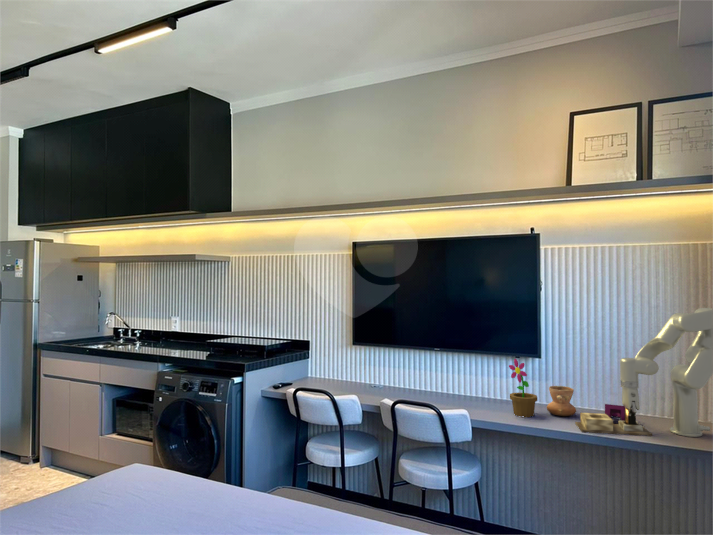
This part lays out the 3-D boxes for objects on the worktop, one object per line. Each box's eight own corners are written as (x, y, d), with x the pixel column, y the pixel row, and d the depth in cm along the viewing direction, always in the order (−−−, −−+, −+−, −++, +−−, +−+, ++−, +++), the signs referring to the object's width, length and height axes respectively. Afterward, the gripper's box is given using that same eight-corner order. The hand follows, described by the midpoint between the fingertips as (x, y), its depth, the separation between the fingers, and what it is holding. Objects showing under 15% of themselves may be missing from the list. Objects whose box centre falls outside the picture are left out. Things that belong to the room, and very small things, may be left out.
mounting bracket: (606, 428, 257) (604, 420, 243) (606, 412, 260) (604, 403, 246) (627, 431, 252) (626, 423, 238) (627, 414, 255) (626, 406, 242)
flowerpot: (503, 413, 264) (503, 357, 265) (522, 410, 271) (522, 355, 272) (524, 419, 252) (523, 361, 253) (543, 416, 259) (542, 359, 260)
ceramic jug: (574, 420, 251) (574, 392, 251) (544, 416, 258) (544, 388, 259) (577, 412, 266) (577, 386, 267) (549, 409, 274) (549, 383, 274)
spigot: (633, 427, 234) (633, 408, 234) (636, 430, 230) (636, 410, 231) (624, 427, 235) (624, 408, 235) (627, 429, 231) (626, 410, 231)
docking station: (641, 427, 238) (641, 414, 238) (652, 436, 224) (652, 422, 225) (575, 423, 244) (575, 411, 244) (582, 432, 231) (581, 419, 231)
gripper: (644, 388, 224) (645, 428, 224) (632, 381, 241) (632, 418, 240) (626, 387, 226) (627, 427, 225) (615, 380, 242) (616, 417, 242)
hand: (630, 422), depth 233 cm, fingers closed on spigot, 4 cm apart
